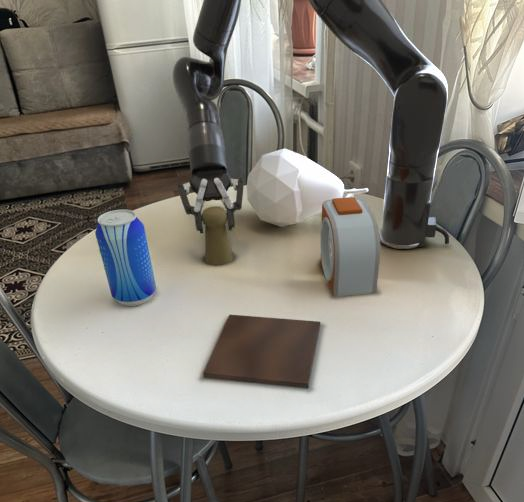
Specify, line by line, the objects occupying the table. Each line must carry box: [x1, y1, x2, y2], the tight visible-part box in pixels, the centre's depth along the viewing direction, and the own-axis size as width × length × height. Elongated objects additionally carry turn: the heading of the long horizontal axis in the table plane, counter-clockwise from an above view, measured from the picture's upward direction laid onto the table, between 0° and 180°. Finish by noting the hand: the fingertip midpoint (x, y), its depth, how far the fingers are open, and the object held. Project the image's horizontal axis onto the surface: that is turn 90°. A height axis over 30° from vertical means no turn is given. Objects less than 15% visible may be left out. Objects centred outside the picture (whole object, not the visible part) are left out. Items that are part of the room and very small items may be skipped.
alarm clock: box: [319, 196, 381, 298], centre depth 95 cm, size 15×8×14 cm, turn 5°
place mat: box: [202, 314, 321, 389], centre depth 81 cm, size 16×16×1 cm
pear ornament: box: [246, 147, 369, 228], centre depth 117 cm, size 16×22×28 cm
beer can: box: [94, 209, 157, 307], centre depth 91 cm, size 8×8×16 cm
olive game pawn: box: [201, 206, 234, 266], centre depth 104 cm, size 6×6×11 cm
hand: (216, 230), depth 101 cm, fingers closed on olive game pawn, 5 cm apart
